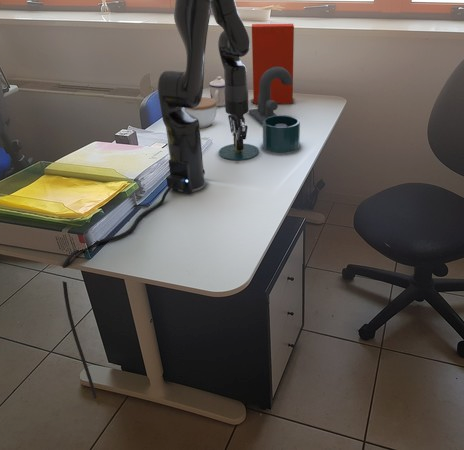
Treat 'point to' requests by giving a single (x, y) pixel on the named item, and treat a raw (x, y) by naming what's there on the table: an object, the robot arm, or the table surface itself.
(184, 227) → the table surface
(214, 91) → the teacup with lid
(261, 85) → the faucet
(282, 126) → the glue stick
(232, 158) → the tin lid
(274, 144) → the tin
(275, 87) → the file binder
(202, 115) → the lidded bowl
